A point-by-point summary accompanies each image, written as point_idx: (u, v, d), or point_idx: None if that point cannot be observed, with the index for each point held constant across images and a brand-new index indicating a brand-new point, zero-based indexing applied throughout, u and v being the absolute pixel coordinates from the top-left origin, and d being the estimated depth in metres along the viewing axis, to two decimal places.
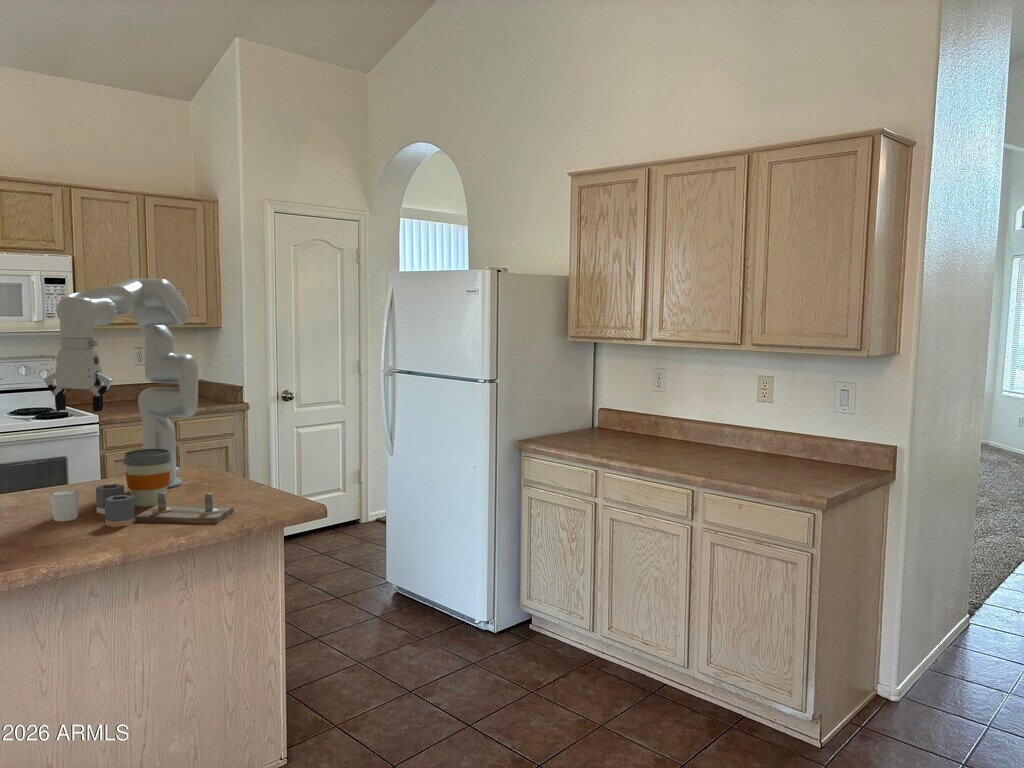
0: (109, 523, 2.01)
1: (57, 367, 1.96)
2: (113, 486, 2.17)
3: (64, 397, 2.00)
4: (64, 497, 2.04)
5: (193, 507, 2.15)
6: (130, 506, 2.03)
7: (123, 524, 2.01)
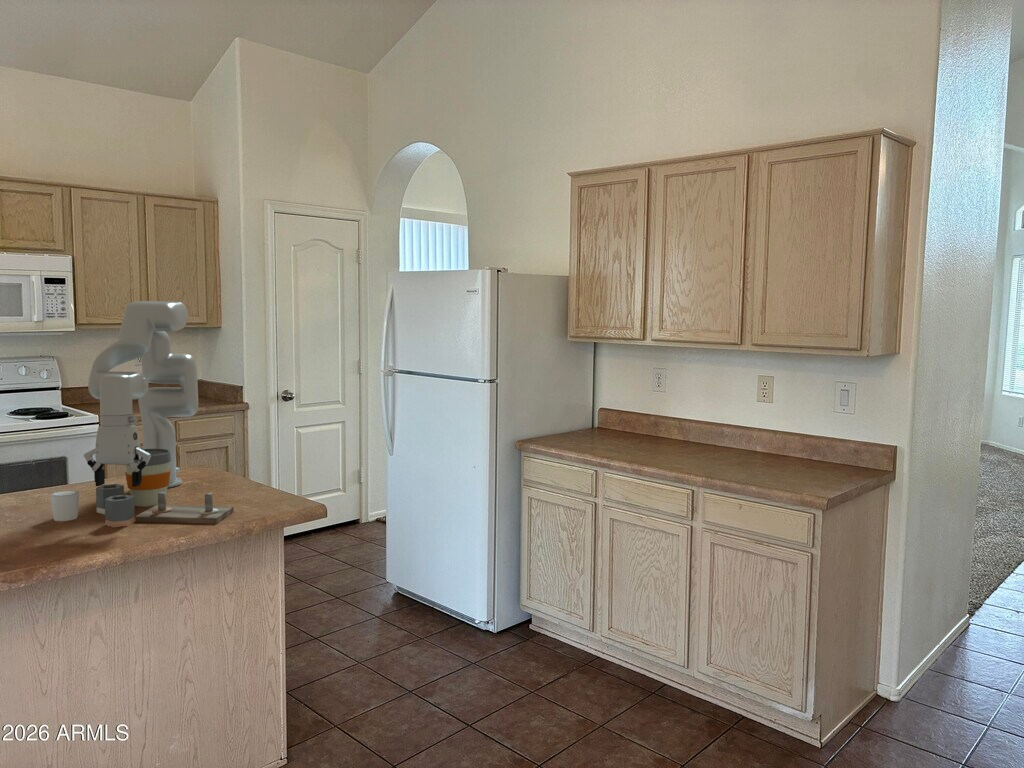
0: (109, 523, 2.01)
1: (97, 443, 1.99)
2: (113, 486, 2.17)
3: (103, 472, 2.03)
4: (64, 497, 2.04)
5: (193, 507, 2.15)
6: (130, 506, 2.03)
7: (123, 524, 2.01)
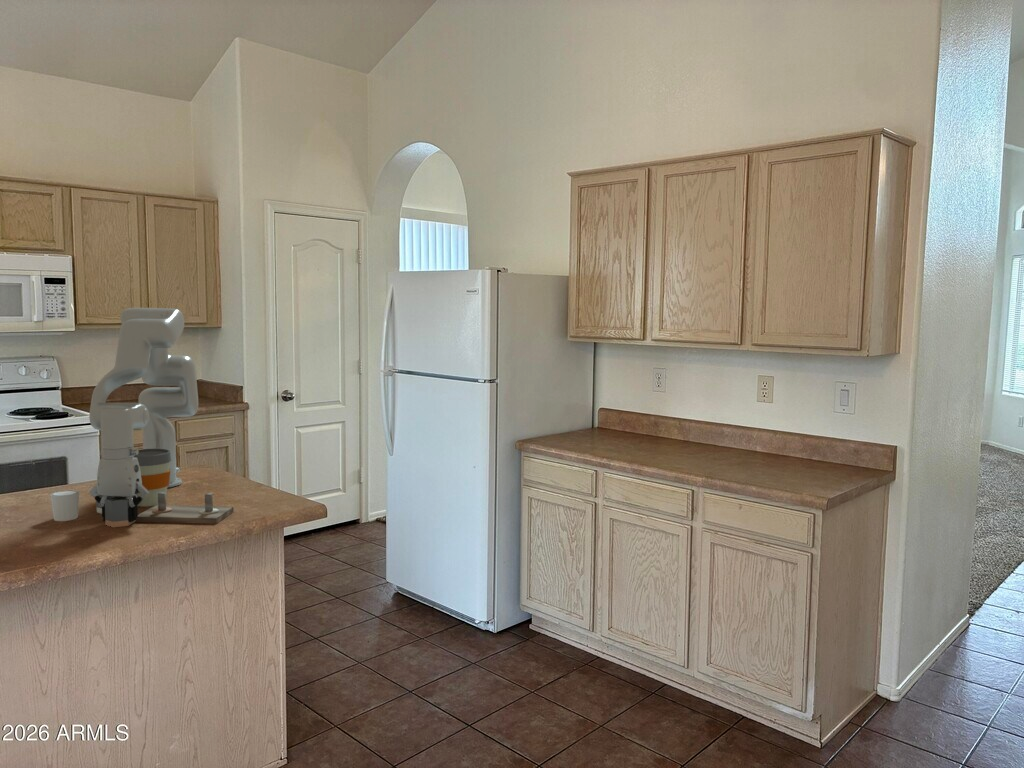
0: (109, 523, 2.01)
1: (98, 476, 2.00)
2: None
3: None
4: (64, 497, 2.04)
5: (193, 507, 2.15)
6: None
7: (123, 524, 2.01)
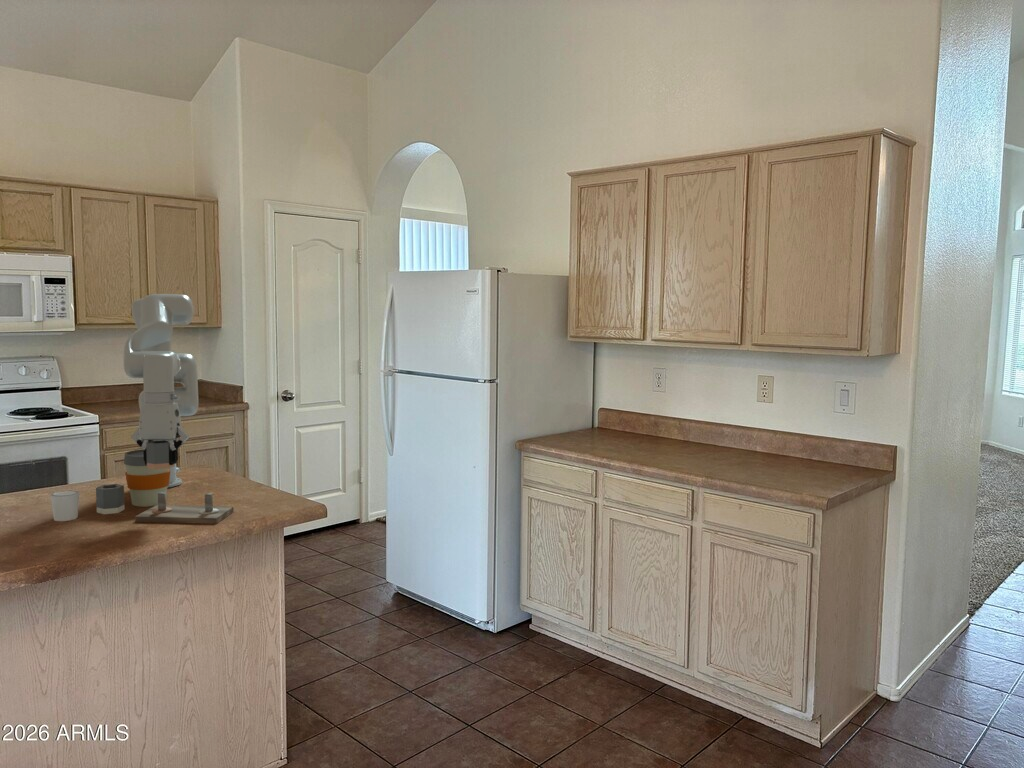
0: (151, 466, 2.07)
1: (140, 420, 2.06)
2: (113, 486, 2.17)
3: None
4: (64, 497, 2.04)
5: (193, 507, 2.15)
6: None
7: (164, 467, 2.07)
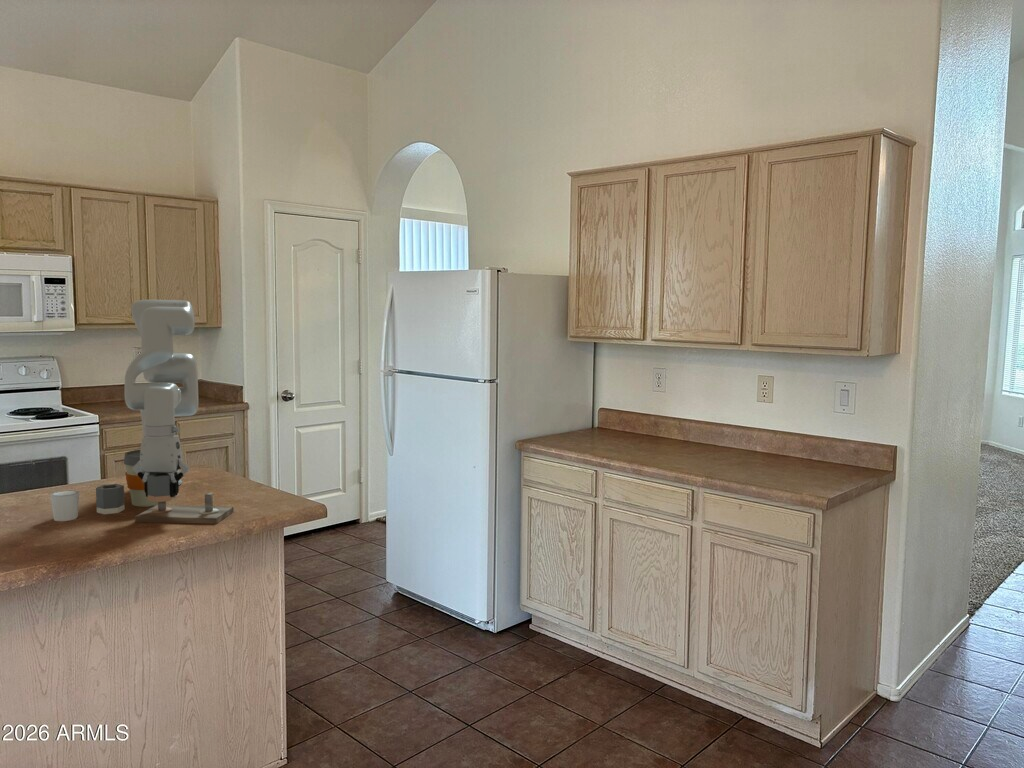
0: (151, 498, 2.08)
1: (141, 453, 2.07)
2: (113, 486, 2.17)
3: None
4: (64, 497, 2.04)
5: (193, 507, 2.15)
6: None
7: (165, 499, 2.08)
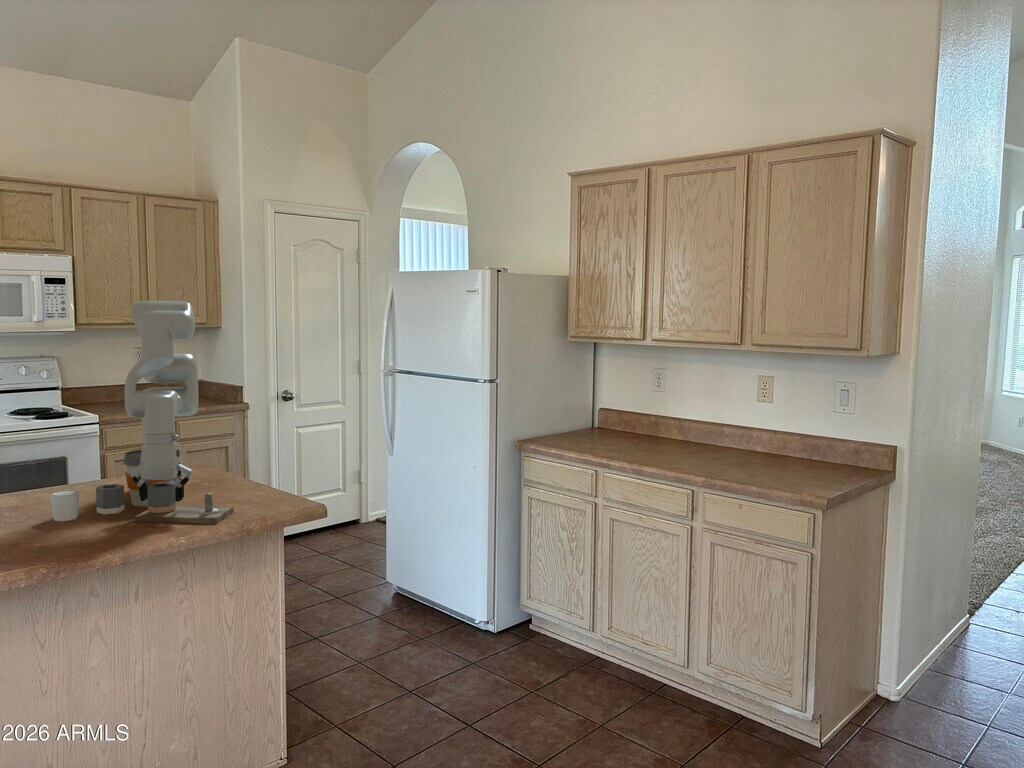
0: (152, 509, 2.09)
1: (142, 460, 2.08)
2: (113, 486, 2.17)
3: None
4: (64, 497, 2.04)
5: (193, 507, 2.15)
6: (172, 493, 2.11)
7: (165, 510, 2.09)
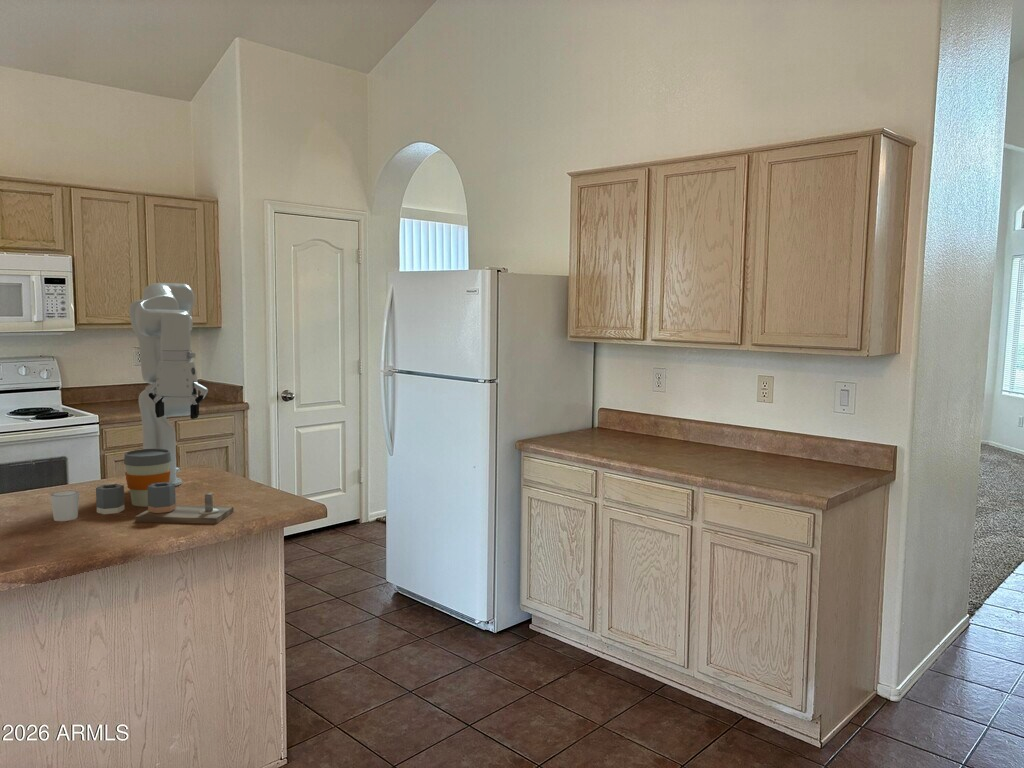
0: (152, 509, 2.09)
1: (158, 377, 2.10)
2: (113, 486, 2.17)
3: (163, 404, 2.14)
4: (64, 497, 2.04)
5: (193, 507, 2.15)
6: (172, 493, 2.11)
7: (165, 510, 2.09)
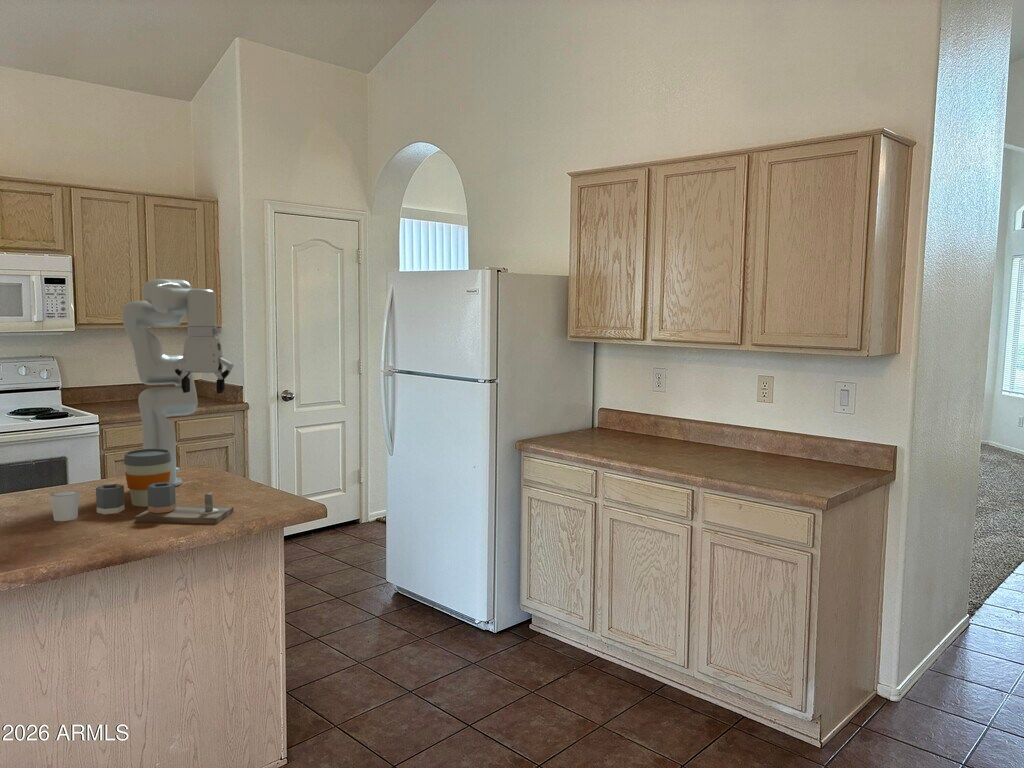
0: (152, 509, 2.09)
1: (184, 353, 2.16)
2: (113, 486, 2.17)
3: (189, 380, 2.20)
4: (64, 497, 2.04)
5: (193, 507, 2.15)
6: (172, 493, 2.11)
7: (165, 510, 2.09)
